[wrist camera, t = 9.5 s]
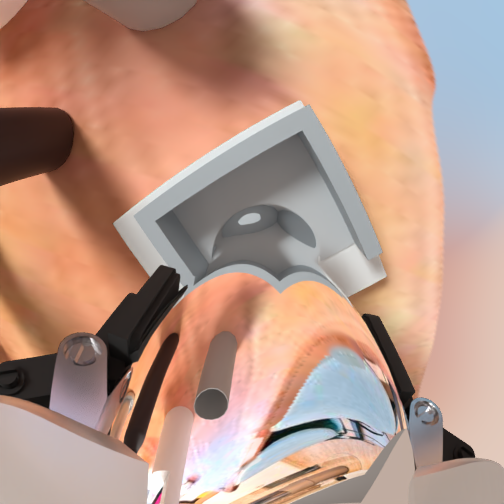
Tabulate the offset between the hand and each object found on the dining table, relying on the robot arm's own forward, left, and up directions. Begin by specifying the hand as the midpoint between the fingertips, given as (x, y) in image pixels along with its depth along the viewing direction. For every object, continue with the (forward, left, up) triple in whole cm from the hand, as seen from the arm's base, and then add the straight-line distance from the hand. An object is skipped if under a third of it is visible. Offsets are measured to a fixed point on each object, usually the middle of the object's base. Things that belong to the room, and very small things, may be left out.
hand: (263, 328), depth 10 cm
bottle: (-14, +19, -15) cm, 28 cm away
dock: (-2, -1, -15) cm, 15 cm away
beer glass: (0, 0, -7) cm, 7 cm away
